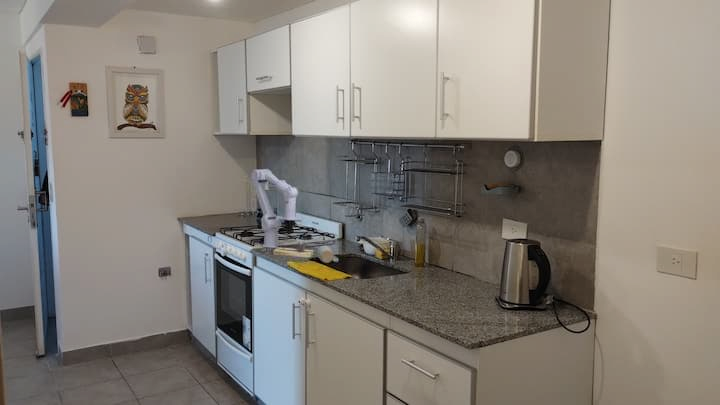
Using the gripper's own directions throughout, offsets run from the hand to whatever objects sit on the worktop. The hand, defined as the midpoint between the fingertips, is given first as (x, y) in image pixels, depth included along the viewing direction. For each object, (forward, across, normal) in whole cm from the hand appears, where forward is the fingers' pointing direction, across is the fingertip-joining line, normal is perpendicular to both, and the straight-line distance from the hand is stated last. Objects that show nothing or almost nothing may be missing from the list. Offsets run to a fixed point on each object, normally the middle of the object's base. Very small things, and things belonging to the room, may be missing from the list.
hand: (289, 234), depth 316 cm
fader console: (+9, +4, -6) cm, 12 cm away
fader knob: (+7, +8, -6) cm, 12 cm away
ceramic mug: (+10, +24, -15) cm, 30 cm away
